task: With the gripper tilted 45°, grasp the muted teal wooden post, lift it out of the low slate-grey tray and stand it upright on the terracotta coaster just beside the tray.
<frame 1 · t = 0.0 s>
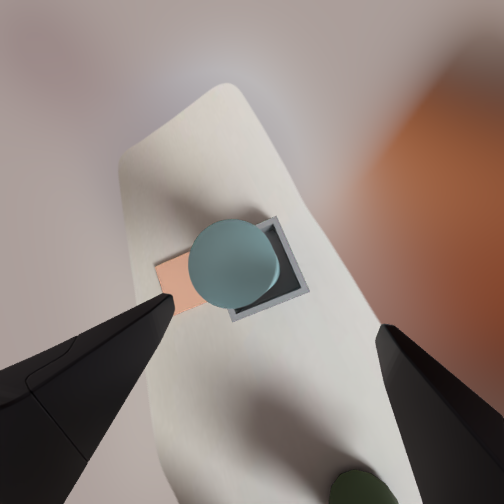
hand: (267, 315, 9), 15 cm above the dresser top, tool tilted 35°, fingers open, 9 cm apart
teal post: (258, 269, 24), resting on slate tray
character mug: (359, 497, 20), on the dresser top
slate tray: (258, 269, 24), on the dresser top
terracotta coaster: (188, 281, 25), on the dresser top
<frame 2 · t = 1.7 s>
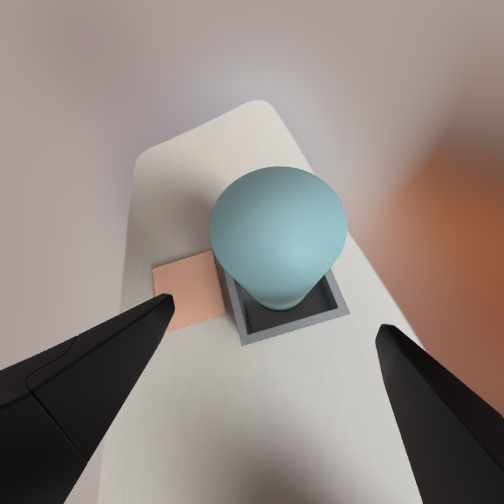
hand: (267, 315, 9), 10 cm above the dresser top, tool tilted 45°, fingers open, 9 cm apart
teal post: (278, 283, 19), resting on slate tray
slate tray: (278, 284, 20), on the dresser top
terracotta coaster: (189, 290, 21), on the dresser top
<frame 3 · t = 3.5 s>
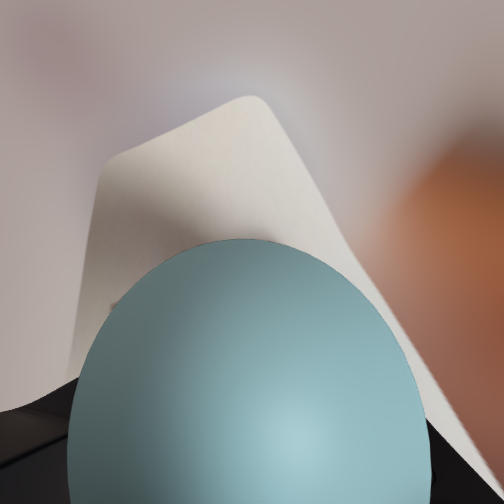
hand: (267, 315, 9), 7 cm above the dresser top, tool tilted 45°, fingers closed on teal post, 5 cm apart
teal post: (270, 338, 15), resting on slate tray, touching gripper
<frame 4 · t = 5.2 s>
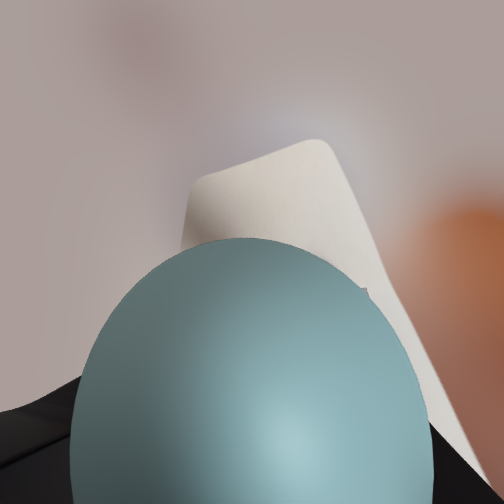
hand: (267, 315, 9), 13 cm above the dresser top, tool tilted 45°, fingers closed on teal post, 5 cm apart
teal post: (271, 337, 15), point 7 cm above the dresser top, touching gripper
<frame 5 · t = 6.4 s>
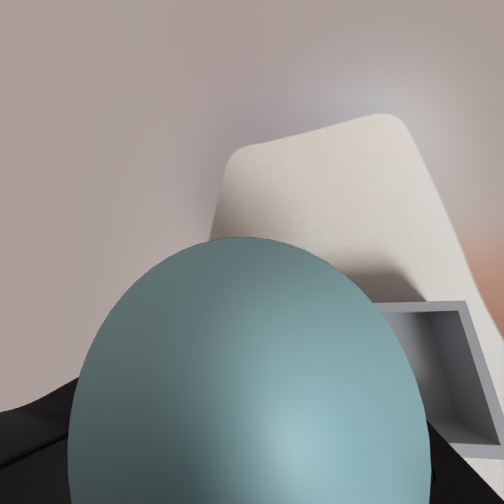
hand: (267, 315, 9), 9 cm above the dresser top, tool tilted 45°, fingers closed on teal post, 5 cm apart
teal post: (270, 337, 15), point 3 cm above the dresser top, touching gripper
slate tray: (386, 360, 16), on the dresser top
when the fingers open (8 cm above the dresser top, at t = 7.0 s): teal post drops 1 cm, resting on terracotta coaster.
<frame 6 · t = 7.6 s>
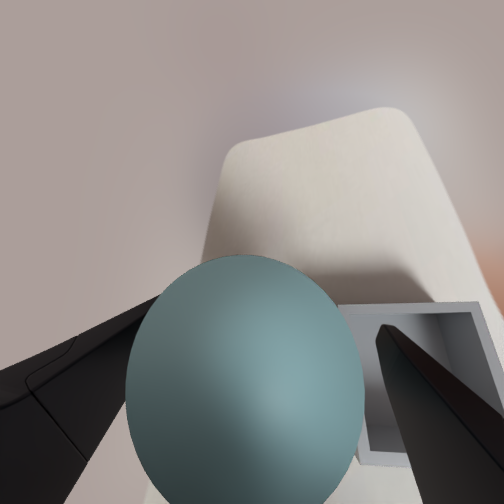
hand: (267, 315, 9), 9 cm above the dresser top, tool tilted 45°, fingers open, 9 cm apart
teal post: (271, 337, 16), point 1 cm above the dresser top, touching terracotta coaster
slate tray: (393, 365, 15), on the dresser top
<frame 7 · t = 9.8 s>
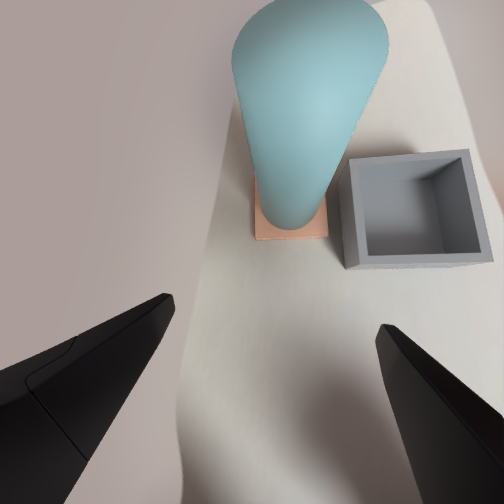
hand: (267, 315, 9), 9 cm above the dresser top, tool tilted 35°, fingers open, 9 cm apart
teal post: (289, 203, 19), point 1 cm above the dresser top, touching terracotta coaster
slate tray: (390, 221, 18), on the dresser top
terracotta coaster: (289, 205, 20), on the dresser top
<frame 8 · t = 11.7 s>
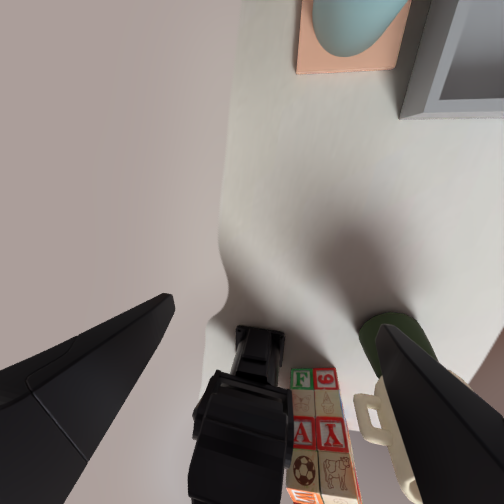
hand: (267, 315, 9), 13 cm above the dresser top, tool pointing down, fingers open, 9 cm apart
teal post: (354, 3, 13), point 1 cm above the dresser top, touching terracotta coaster
character mug: (386, 328, 24), on the dresser top
slate tray: (494, 39, 13), on the dresser top
terracotta coaster: (352, 8, 13), on the dresser top
stack of blocks: (324, 410, 33), on the dresser top
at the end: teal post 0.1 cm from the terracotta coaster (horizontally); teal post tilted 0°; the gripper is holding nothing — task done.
